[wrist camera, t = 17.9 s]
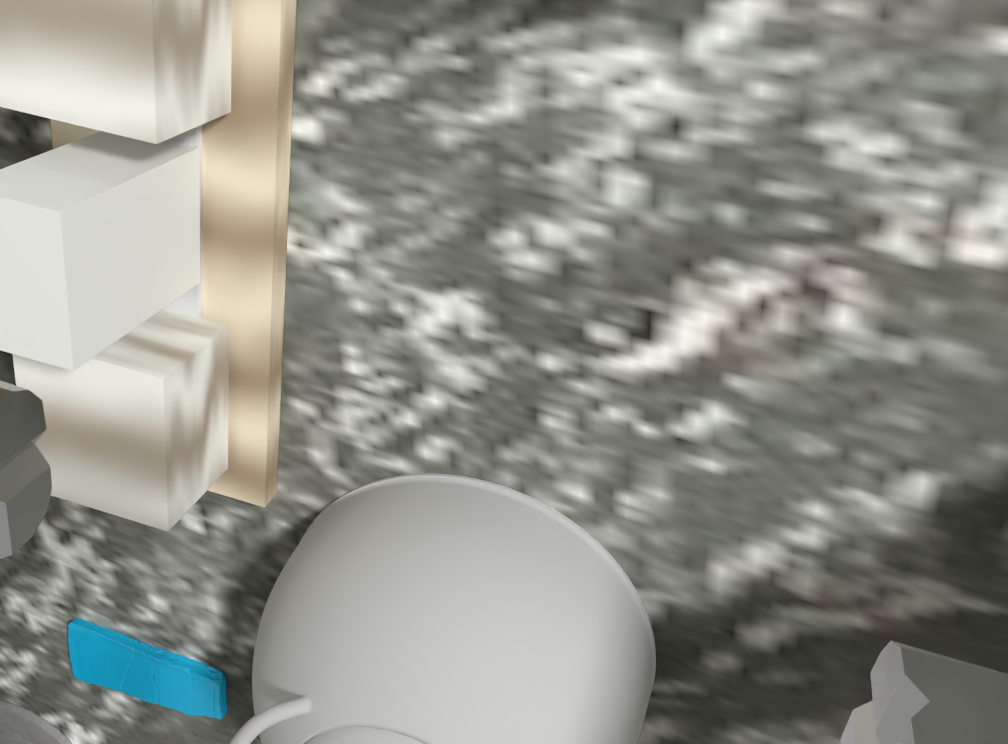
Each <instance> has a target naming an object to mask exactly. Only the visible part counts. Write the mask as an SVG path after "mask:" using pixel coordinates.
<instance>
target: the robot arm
mask: <svg viewBox="0 0 1008 744" xmlns="http://www.w3.org/2000/svg"><path fill="white" fill-rule="evenodd" d="M46 429H47V428H46V422H45V415H44V409H43V402H42V400H41V399H40V398H39V397H37V396H36V395H35V394H34V393H32V392H31V391H30V390H28V389H25V388H22V387H19V386H15V385H12V384H9V383H6V382H3V381H0V559H2V558H5V557H8V556H11V555H13V554H14V553H15V552H16V551H17V550H18V549H19V548H20V547H22V546H23V545H24V544H25V543H26V542H27V541H28V540H29V539H30V538H31V537H32V536H33V535H34V533H35V531H36V530H37V528H38V526H39V524H40V523H41V521H42V519H43V517H44V515H45V514H46V512H47V510H48V506H49V501H50V495H51V490H52V480H51V468H50V465H49V464H48V462H47V461H46V459H45V458H44V456H43V455H42V453H41V452H40V450H39V449H38V448H37V446H36V445H35V443H36V441H37V440H38V439H39V438H40V437H41V435H42V434H43V433H44V432H45V430H46ZM870 675H871V686H872V698H873V700H872V701H870V702H868V703H866V704H864V705H862V706H860V707H857V708H855V709H853V711H852V713H851V716H850V718H849V720H848V723H847V725H846V727H845V730H844V732H843V734H842V737H841V740H840V744H1008V674H1007V673H1003V672H1000V671H996V670H993V669H989V668H986V667H982V666H979V665H975V664H972V663H968V662H965V661H961V660H958V659H954V658H951V657H947V656H943V655H940V654H936V653H933V652H929V651H926V650H922V649H919V648H915V647H912V646H908V645H905V644H901V643H898V642H894V641H890V642H889V643H888V644H887V646H886V647H885V648H884V649H883V650H882V651H881V653H880V655H879V657H878V659H877V661H876V663H875V665H874V667H873V669H872V671H871V673H870Z"/></svg>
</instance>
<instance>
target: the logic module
mask: <svg viewBox="0 0 1008 744" xmlns="http://www.w3.org/2000/svg"><path fill="white" fill-rule="evenodd" d="M199 283H200V176H199V147H197V146H193V145H188V144H184V143H180V142H176V141H172V140H165V141H163V142H161V143H158V144H154V143H149V142H145V141H141V140H137V139H133V138H129V137H124V136H120V135H116V134H112V133H108V132H103V131H100V132H98V133H95V134H93V135H90V136H87V137H85V138H82V139H79V140H77V141H74V142H71V143H69V144H66V145H63V146H61V147H58V148H56V149H53V150H50V151H48V152H45V153H42V154H40V155H37V156H34V157H32V158H29V159H27V160H24V161H21V162H19V163H16V164H13V165H11V166H8V167H5V168H3V169H0V350H1V351H5V352H8V353H12V354H15V355H19V356H22V357H26V358H29V359H33V360H36V361H40V362H43V363H47V364H50V365H54V366H57V367H61V368H65V369H68V370H72V371H74V370H76V369H77V368H78V367H80V366H81V365H83V364H84V363H86V362H87V361H89V360H90V359H91V358H93V357H94V356H96V355H97V354H99V353H100V352H101V351H103V350H104V349H106V348H107V347H109V346H110V345H111V344H113V343H114V342H116V341H117V340H119V339H120V338H121V337H123V336H124V335H126V334H127V333H129V332H130V331H132V330H133V329H134V328H136V327H137V326H139V325H140V324H142V323H143V322H144V321H146V320H147V319H149V318H150V317H152V316H153V315H154V314H156V313H157V312H159V311H160V310H162V309H163V308H164V307H166V306H167V305H169V304H170V303H172V302H173V301H175V300H176V299H177V298H179V297H180V296H182V295H183V294H185V293H186V292H187V291H189V290H190V289H192V288H193V287H195V286H196V285H197V284H199Z"/></svg>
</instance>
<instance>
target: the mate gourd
mask: <svg viewBox="0 0 1008 744" xmlns="http://www.w3.org/2000/svg"><path fill="white" fill-rule="evenodd" d="M0 744H72V743H71V742H70V740H69V739H68V738H66V737H65V736H64V735H63V734H62V733H61V732H60V731H59V730H58V729H57V728H55V727H54V726H53V725H51V724H50V723H49V722H47V721H46V720H45V719H43V718H41V717H39V716H38V715H36V714H34V713H33V712H31V711H29V710H26V709H24V708H22V707H20V706H17V705H14V704H11V703H7V702H4V701H0Z"/></svg>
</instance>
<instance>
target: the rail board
mask: <svg viewBox="0 0 1008 744" xmlns="http://www.w3.org/2000/svg"><path fill="white" fill-rule="evenodd" d="M296 1H297V0H0V107H3V108H8V109H12V110H16V111H20V112H24V113H28V114H33V115H37V116H41V117H45V118H49V119H50V121H51V133H52V145H53V149H56V148H58V147H61V146H63V145H66V144H69V143H71V142H74V141H77V140H79V139H82V138H85V137H87V136H90V135H93V134H95V133H98V132H100V131H103V132H108V133H112V134H116V135H120V136H124V137H129V138H133V139H137V140H141V141H145V142H149V143H154V144H158V143H161V142H163V141H165V140H172V141H176V142H180V143H184V144H188V145H193V146H197V147H199V176H200V283H199V284H197V285H196V286H195V287H193V288H192V289H190V290H189V291H187V292H186V293H185V294H183V295H182V296H180V297H179V298H177V299H176V300H175V301H173V302H172V303H170V304H169V305H167V306H166V307H164V308H163V309H162V310H160V311H159V312H157V313H156V314H154V315H153V316H152V317H150V318H149V319H147V320H146V321H144V322H143V323H142V324H140V325H139V326H137V327H136V328H134V329H133V330H132V331H130V332H129V333H127V334H126V335H124V336H123V337H121V338H120V339H119V340H117V341H116V342H114V343H113V344H111V345H110V346H109V347H107V348H106V349H104V350H103V351H101V352H100V353H99V354H97V355H96V356H94V357H93V358H91V359H90V360H89V361H87V362H86V363H84V364H83V365H81V366H80V367H78V368H77V369H76V370H74V371H72V370H68V369H65V368H61V367H57V366H54V365H50V364H47V363H43V362H40V361H36V360H33V359H29V358H26V357H22V356H19V355H15V354H13V363H14V371H15V380H16V386H19V387H22V388H25V389H28V390H30V391H31V392H32V393H34V394H35V395H36V396H37V397H39V398H40V399H41V400H42V402H43V409H44V415H45V422H46V428H47V429H46V430H45V432H44V433H43V434H42V435H41V437H40V438H39V439H38V440H37V441H36V443H35V445H36V446H37V448H38V449H39V450H40V452H41V453H42V455H43V456H44V458H45V459H46V461H47V462H48V464H49V465H50V468H51V480H52V490H51V496H54V497H58V498H61V499H64V500H67V501H70V502H74V503H77V504H80V505H83V506H87V507H90V508H93V509H96V510H100V511H103V512H106V513H109V514H113V515H116V516H119V517H122V518H126V519H129V520H132V521H135V522H139V523H142V524H145V525H148V526H152V527H155V528H158V529H161V530H165V531H169V530H170V529H171V528H172V527H173V526H174V525H175V524H176V523H177V522H178V521H179V520H180V518H181V517H182V516H183V515H184V514H185V513H186V512H187V511H188V510H189V509H190V508H191V507H192V506H193V505H194V504H195V503H196V501H197V500H198V499H199V498H200V497H201V496H202V495H203V494H204V493H205V492H206V491H207V490H208V491H211V492H215V493H218V494H222V495H225V496H228V497H232V498H235V499H238V500H242V501H245V502H248V503H252V504H255V505H258V506H262V507H266V505H267V504H268V503H269V502H270V500H271V499H272V498H273V497H274V496H275V494H276V493H277V475H278V450H279V426H280V401H281V376H282V351H283V326H284V301H285V276H286V251H287V226H288V201H289V176H290V151H291V126H292V101H293V76H294V51H295V26H296Z"/></svg>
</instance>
